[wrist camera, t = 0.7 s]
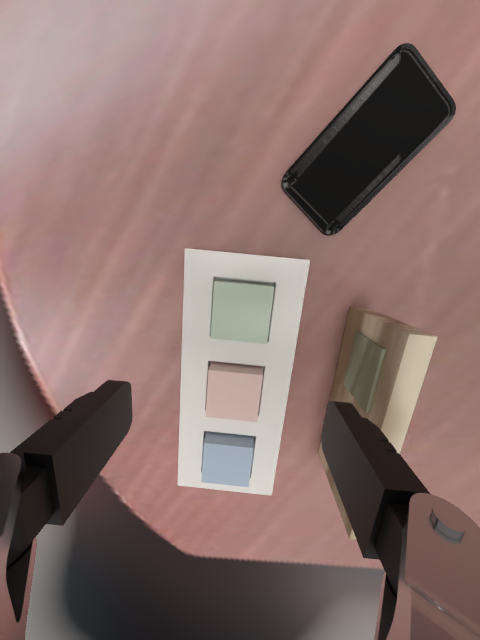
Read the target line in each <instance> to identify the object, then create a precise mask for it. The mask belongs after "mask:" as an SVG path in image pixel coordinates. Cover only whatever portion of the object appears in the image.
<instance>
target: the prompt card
mask: <svg viewBox="0 0 480 640" xmlns="http://www.w3.org/2000/svg"><path fill="white" fill-rule="evenodd" d="M436 341H437V336H434V335H432V334H429V333H427V332H425V331H422V330H420V329H417V328H415V327H412V326H410V325H408V324H405V323H403V322H400V321H398V320H395V319H393V318H391V317H388V316H386V315H383V314H381V313H378V312H376V311H373V310H371V309H369V308H361V307H351V306H350V309H349V313H348V318H347V322H346V327H345V332H344V336H343V341H342V346H341V350H340V355H339V359H338V364H337V369H336V373H335V378H334V383H333V387H332V392H331V396H330V401H338V402H349V403H352V404H353V405H354V407H355V408H356V410H357V411H358V412H359V414H360V415H361V417H362V418H367V419H368V420H370V421H371V422H372V423H374V424H375V425H376V426H377V427H379V428H380V429H381V431H382V432H383V433H384V435H385V436H386V437H387V438H388V440H389V442H390V443H391V444H392V445H393V446H394V448H395V449H396V450H397V453H399V454H400V451H401V448H402V445H403V442H404V439H405V436H406V433H407V430H408V427H409V424H410V420H411V417H412V414H413V411H414V408H415V405H416V402H417V399H418V396H419V393H420V390H421V387H422V384H423V380H424V377H425V374H426V371H427V368H428V365H429V362H430V359H431V356H432V353H433V350H434V347H435V344H436ZM330 401H329V402H330ZM318 453H319V456H320V458H321V461H322V464H323V467H324V469H325V472H326V475H327V478H328V481H329V483H330V486H331V489H332V492H333V495H334V497H335V500H336V503H337V506H338V508H339V511H340V514H341V517H342V520H343V522H344V525H345V528H346V531H347V533H348V536H349V539H354V540H357V539H356V537H355V534H354V532H353V529H352V526H351V524H350V521H349V518H348V516H347V513H346V511H345V508H344V505H343V503H342V500H341V498H340V495H339V492H338V490H337V487H336V485H335V482H334V479H333V477H332V474H331V472H330V469H329V466H328V464H327V461H326V459H325V456H324V453H323V450H322V443H320V447H319V452H318Z"/></svg>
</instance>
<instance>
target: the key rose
mask: <svg viewBox="0 0 480 640" xmlns="http://www.w3.org/2000/svg"><path fill="white" fill-rule="evenodd" d="M262 380H263V371H262V366H256V365H246V364H236V363H226V362H217V361H211V364H210V367H209V370H208V385H207V401H206V416H205V417H212V418H221V419H231V420H241V421H250V422H257V418H258V411H259V403H260V395H261V388H262Z"/></svg>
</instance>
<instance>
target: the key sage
mask: <svg viewBox="0 0 480 640" xmlns="http://www.w3.org/2000/svg"><path fill="white" fill-rule="evenodd" d="M273 295H274V286H273V285H272V284H266V283H255V282H245V281H235V280H224V279H217V280H215V281H214V290H213V306H212V322H211V337H210V338H211V339H221V340H231V341H241V342H251V343H261V344H267V341H268V334H269V326H270V318H271V310H272V303H273Z"/></svg>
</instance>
